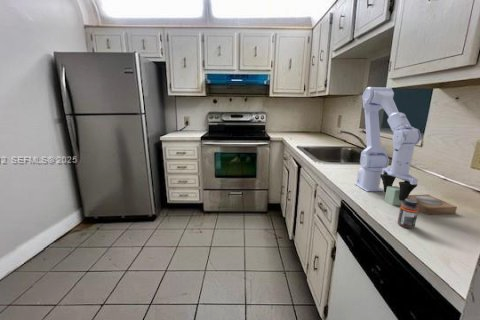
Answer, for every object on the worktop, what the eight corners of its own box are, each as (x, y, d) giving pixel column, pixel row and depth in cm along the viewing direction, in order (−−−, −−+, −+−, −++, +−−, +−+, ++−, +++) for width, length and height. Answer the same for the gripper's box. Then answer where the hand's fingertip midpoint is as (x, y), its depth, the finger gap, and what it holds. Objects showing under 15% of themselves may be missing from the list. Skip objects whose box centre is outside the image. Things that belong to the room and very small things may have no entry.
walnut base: (401, 201, 89) (402, 194, 88) (426, 200, 90) (428, 194, 89) (427, 214, 78) (428, 207, 78) (455, 213, 79) (457, 206, 79)
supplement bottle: (397, 220, 74) (403, 196, 72) (414, 225, 71) (420, 200, 69) (396, 225, 71) (401, 200, 69) (414, 230, 68) (420, 204, 66)
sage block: (384, 200, 89) (387, 186, 88) (393, 200, 89) (396, 186, 88) (392, 205, 85) (395, 190, 84) (401, 204, 86) (404, 189, 84)
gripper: (377, 157, 90) (371, 189, 93) (407, 167, 76) (399, 204, 79) (393, 157, 91) (387, 189, 94) (426, 166, 77) (418, 204, 80)
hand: (394, 196), depth 87 cm, fingers open, 7 cm apart
